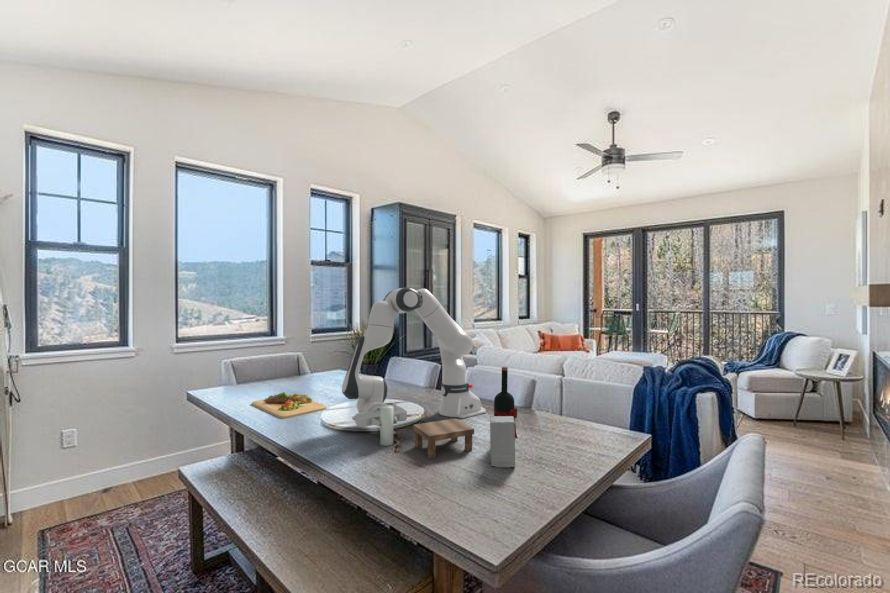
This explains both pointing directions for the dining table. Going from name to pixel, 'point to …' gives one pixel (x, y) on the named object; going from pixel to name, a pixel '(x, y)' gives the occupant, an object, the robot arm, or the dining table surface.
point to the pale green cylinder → (386, 424)
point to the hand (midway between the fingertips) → (387, 422)
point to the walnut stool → (442, 433)
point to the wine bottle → (505, 400)
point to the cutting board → (289, 405)
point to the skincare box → (502, 441)
